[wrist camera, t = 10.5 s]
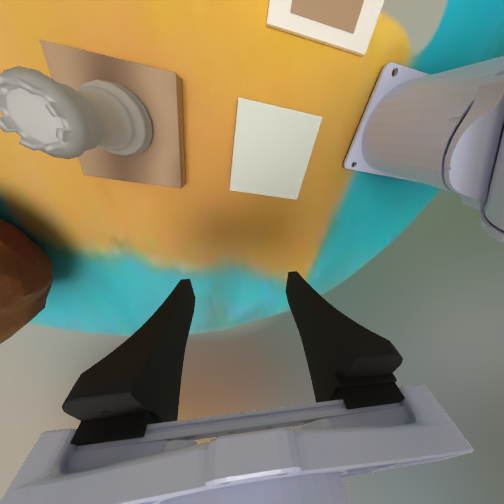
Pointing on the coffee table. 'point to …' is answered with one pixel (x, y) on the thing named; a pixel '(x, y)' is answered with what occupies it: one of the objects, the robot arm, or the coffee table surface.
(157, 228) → the coffee table surface
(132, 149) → the rook chess piece
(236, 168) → the grey-green block
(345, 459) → the robot arm
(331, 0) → the card
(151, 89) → the walnut block
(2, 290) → the butternut squash
